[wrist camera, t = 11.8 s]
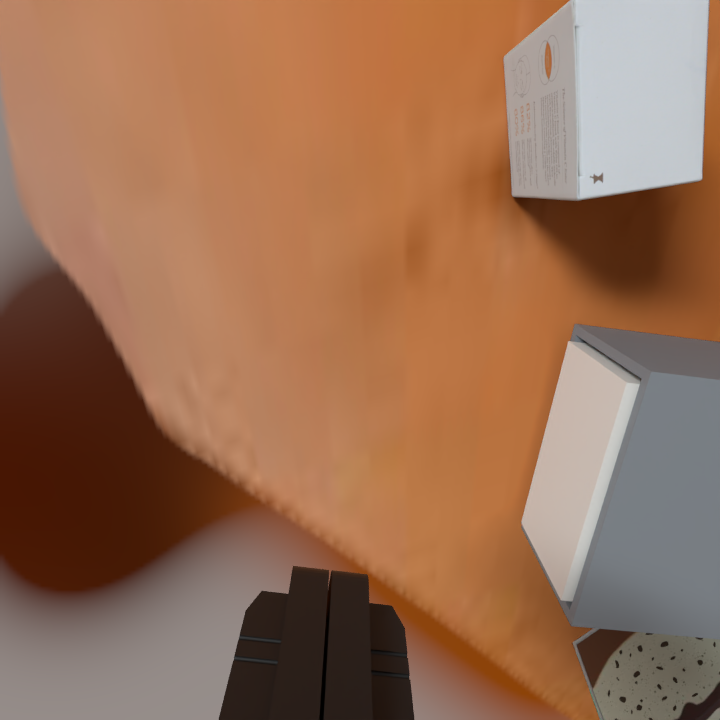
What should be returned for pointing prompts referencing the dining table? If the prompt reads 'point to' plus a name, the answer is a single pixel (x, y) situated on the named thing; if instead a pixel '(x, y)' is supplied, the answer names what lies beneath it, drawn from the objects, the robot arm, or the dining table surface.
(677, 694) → the food container
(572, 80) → the small box
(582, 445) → the white cuboid
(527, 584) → the dining table surface
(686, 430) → the sleeve
